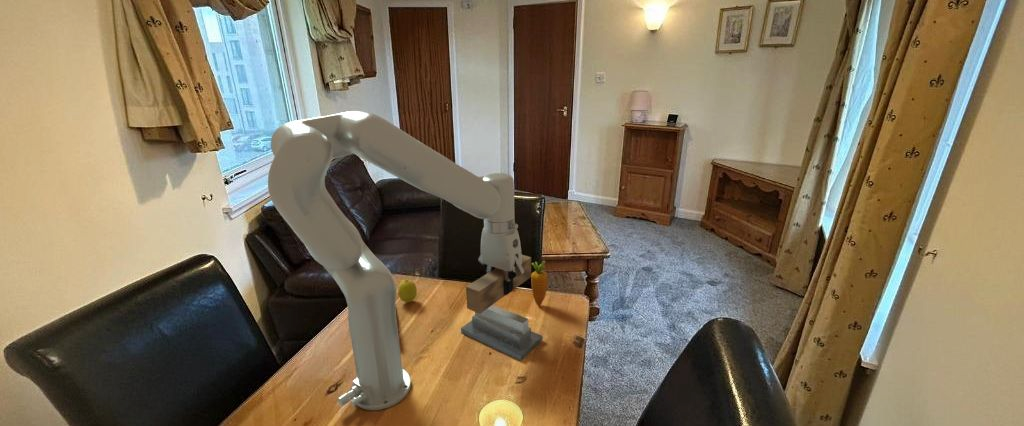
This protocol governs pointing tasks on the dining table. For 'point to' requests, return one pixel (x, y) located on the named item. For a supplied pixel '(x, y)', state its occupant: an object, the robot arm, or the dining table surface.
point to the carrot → (539, 283)
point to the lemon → (407, 291)
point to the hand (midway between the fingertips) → (501, 289)
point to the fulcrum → (503, 332)
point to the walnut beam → (493, 287)
